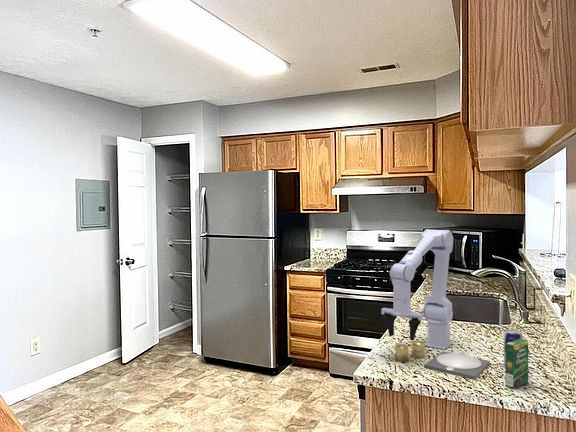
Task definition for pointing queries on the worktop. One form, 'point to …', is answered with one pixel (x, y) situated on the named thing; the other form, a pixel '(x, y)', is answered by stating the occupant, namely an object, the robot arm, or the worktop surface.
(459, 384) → the worktop surface
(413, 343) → the tan rounded cylinder
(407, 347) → the golden domed cylinder
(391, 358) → the worktop surface
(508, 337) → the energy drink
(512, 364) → the green carton
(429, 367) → the kitchen scale
